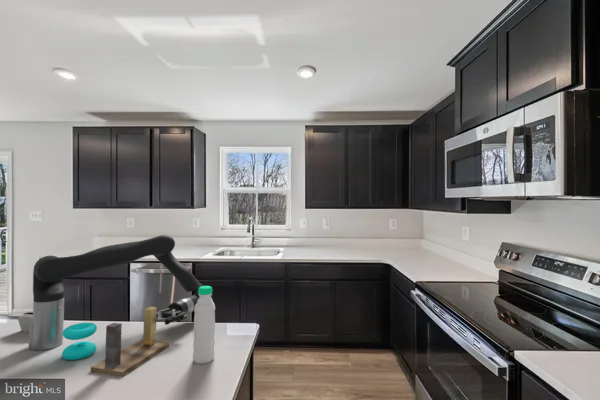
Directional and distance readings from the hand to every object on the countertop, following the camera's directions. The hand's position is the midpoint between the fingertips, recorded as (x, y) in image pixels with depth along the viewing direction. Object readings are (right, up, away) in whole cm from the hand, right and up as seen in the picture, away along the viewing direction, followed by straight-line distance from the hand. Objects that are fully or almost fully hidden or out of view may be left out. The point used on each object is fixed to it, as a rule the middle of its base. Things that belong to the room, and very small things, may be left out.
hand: (156, 321), depth 123 cm
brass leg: (-1, -7, -4) cm, 8 cm away
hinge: (-53, -9, +10) cm, 55 cm away
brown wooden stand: (-2, -9, -10) cm, 14 cm away
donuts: (-23, -8, -10) cm, 26 cm away
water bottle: (+22, -9, -12) cm, 26 cm away
